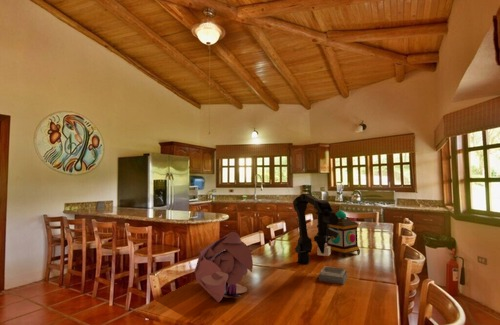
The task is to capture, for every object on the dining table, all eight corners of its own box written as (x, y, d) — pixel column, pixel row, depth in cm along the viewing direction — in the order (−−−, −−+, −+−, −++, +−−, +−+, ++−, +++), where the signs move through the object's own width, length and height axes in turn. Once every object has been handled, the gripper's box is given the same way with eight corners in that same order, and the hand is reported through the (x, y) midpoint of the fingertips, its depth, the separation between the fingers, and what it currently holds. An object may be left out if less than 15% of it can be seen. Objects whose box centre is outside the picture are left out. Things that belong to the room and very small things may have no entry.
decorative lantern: (363, 254, 191) (361, 210, 193) (345, 259, 180) (343, 212, 182) (339, 248, 208) (338, 208, 210) (321, 252, 196) (320, 210, 199)
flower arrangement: (263, 306, 123) (276, 242, 127) (224, 313, 107) (240, 239, 111) (214, 279, 148) (226, 226, 152) (176, 281, 131) (190, 222, 135)
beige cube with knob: (317, 255, 151) (316, 243, 151) (319, 252, 156) (319, 241, 157) (328, 256, 148) (328, 244, 149) (330, 253, 153) (330, 242, 154)
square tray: (318, 280, 140) (318, 271, 141) (323, 273, 151) (323, 265, 151) (343, 284, 135) (343, 275, 135) (346, 277, 146) (346, 268, 146)
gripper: (334, 226, 142) (336, 257, 140) (340, 222, 158) (341, 250, 157) (313, 225, 147) (314, 255, 145) (321, 221, 163) (322, 248, 162)
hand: (324, 252), depth 152 cm, fingers closed on beige cube with knob, 6 cm apart
